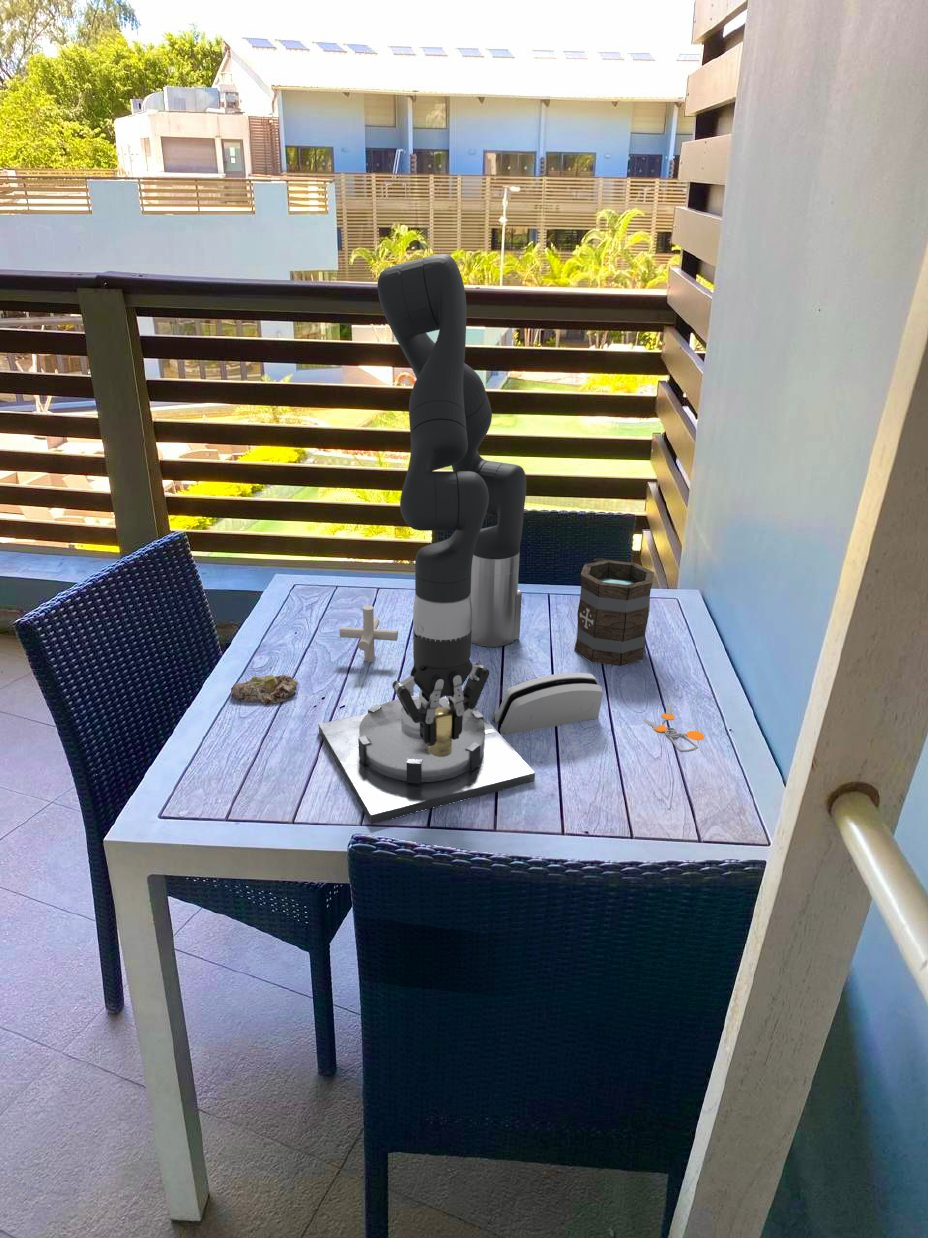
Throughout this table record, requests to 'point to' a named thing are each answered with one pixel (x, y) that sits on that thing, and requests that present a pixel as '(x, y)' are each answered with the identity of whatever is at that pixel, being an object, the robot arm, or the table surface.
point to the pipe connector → (368, 633)
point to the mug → (613, 612)
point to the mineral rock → (265, 689)
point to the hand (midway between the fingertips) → (440, 739)
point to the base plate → (401, 798)
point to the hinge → (549, 703)
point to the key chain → (674, 734)
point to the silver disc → (419, 743)
